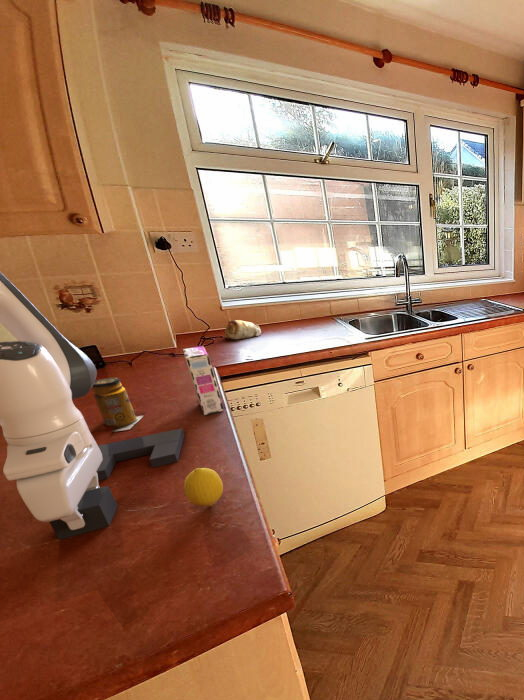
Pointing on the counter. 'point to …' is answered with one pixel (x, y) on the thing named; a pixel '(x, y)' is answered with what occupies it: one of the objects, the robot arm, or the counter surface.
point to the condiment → (114, 404)
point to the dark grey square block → (90, 513)
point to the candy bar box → (203, 380)
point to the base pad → (142, 450)
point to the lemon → (203, 487)
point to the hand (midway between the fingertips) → (87, 510)
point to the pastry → (241, 330)
